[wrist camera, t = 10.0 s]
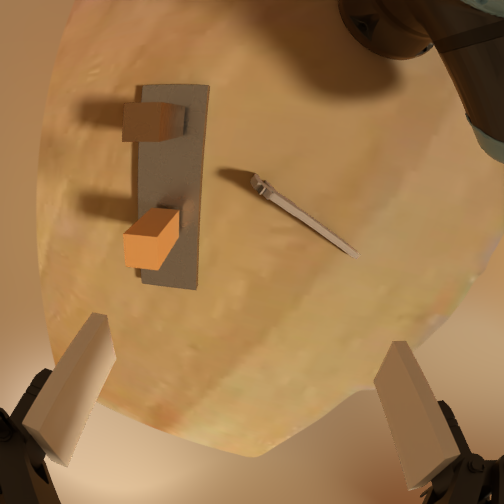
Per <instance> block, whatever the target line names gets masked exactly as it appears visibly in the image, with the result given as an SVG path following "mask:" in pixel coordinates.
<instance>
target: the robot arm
mask: <svg viewBox="0 0 504 504" xmlns="http://www.w3.org/2000/svg"><path fill="white" fill-rule="evenodd" d="M339 10H340V14H341V17H342V19H343V21H344V23H345V25H346V27H347V28H348V30H349V31H350V33H351V34H352V35H353V36H354V37H355V38H356V39H357V40H358V41H359V42H360V43H361V44H362V45H363V46H365V47H366V48H368V49H369V50H371V51H372V52H374V53H376V54H378V55H380V56H383V57H386V58H389V59H395V60H407V59H412V58H415V57H418V56H421V55H423V54H425V53H426V52H428V51H429V50H430V49H431V48H432V47H433V45H435V47H436V49H437V51H438V53H439V55H440V57H441V59H442V61H443V63H444V65H445V67H446V69H447V71H448V73H449V75H450V77H451V79H452V81H453V83H454V85H455V88H456V90H457V92H458V94H459V97H460V99H461V101H462V104H463V106H464V109H465V111H466V117H467V120H468V122H469V123H470V125H471V126H472V128H473V131H474V133H475V136H476V138H477V141H478V143H479V145H480V146H481V148H482V149H483V150H484V151H485V152H486V153H487V154H488V155H489V156H490V157H492V158H493V159H495V160H497V161H499V162H501V163H503V164H504V0H339ZM115 360H116V355H115V351H114V347H113V342H112V338H111V333H110V328H109V324H108V318H107V315H103V314H98V313H92V314H91V315H90V317H89V318H88V320H87V321H86V322H85V324H84V325H83V327H82V328H81V330H80V331H79V332H78V334H77V335H76V337H75V338H74V340H73V341H72V343H71V344H70V346H69V347H68V349H67V350H66V352H65V353H64V355H63V356H62V358H61V359H60V361H59V362H58V364H57V365H56V367H55V368H54V370H53V371H52V370H49V369H46V368H45V369H44V370H42V371H41V372H39V373H38V374H37V375H36V376H35V377H34V379H33V380H32V382H31V384H30V386H29V387H28V388H27V390H26V393H24V394H23V396H22V398H21V399H20V401H19V403H18V405H17V406H16V407H15V409H14V411H13V412H12V414H11V416H10V417H9V415H8V414H7V413H6V412H5V410H4V409H3V408H0V504H61V503H60V500H59V498H58V495H57V493H56V490H55V488H54V485H53V483H52V480H51V477H50V474H49V472H48V469H47V466H46V463H45V461H44V458H45V455H47V456H48V457H49V458H50V459H51V460H52V461H54V462H56V463H58V464H61V465H63V466H65V467H68V465H69V462H70V460H71V457H72V455H73V452H74V450H75V448H76V445H77V442H78V441H79V438H80V436H81V434H82V431H83V429H84V427H85V424H86V422H87V420H88V417H89V415H90V413H91V411H92V409H93V406H94V404H95V402H96V400H97V398H98V396H99V393H100V391H101V389H102V387H103V385H104V383H105V381H106V379H107V377H108V375H109V373H110V370H111V368H112V366H113V364H114V362H115ZM374 384H375V386H376V389H377V392H378V395H379V398H380V400H381V403H382V406H383V409H384V412H385V415H386V418H387V421H388V424H389V427H390V430H391V434H392V437H393V440H394V443H395V446H396V450H397V452H398V456H399V460H400V463H401V466H402V470H403V473H404V476H405V480H406V484H407V488H408V490H412V489H416V488H420V487H423V486H425V485H426V484H427V483H428V482H430V481H431V482H432V486H431V487H429V488H428V489H427V490H426V491H424V492H423V493H422V494H421V495H420V497H423V496H424V495H426V494H427V495H426V497H425V499H424V501H423V503H422V504H504V455H503V456H502V457H500V458H499V459H498V460H484V459H483V458H482V457H481V456H479V455H478V454H474V453H473V454H472V453H471V451H470V449H469V447H468V444H467V443H466V440H465V438H464V435H463V433H462V431H461V429H460V427H459V426H458V423H457V420H456V419H455V416H454V414H453V412H452V410H451V408H450V407H449V406H448V405H447V404H446V403H445V402H444V401H443V400H442V401H437V400H436V398H435V396H434V394H433V392H432V390H431V388H430V386H429V384H428V382H427V380H426V378H425V376H424V374H423V372H422V370H421V368H420V366H419V364H418V363H417V361H416V359H415V357H414V355H413V353H412V351H411V349H410V347H409V346H408V344H407V342H406V341H393V342H392V344H391V346H390V348H389V350H388V353H387V355H386V357H385V359H384V361H383V363H382V365H381V367H380V369H379V371H378V373H377V375H376V377H375V379H374ZM491 494H492V496H491V500H490V497H489V496H490V495H491Z"/></svg>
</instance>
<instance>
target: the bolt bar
mask: <svg viewBox="0 0 504 504" xmlns="http://www.w3.org/2000/svg"><path fill="white" fill-rule="evenodd" d="M209 91H210V86H209V85H143V89H142V100H141V102H139V103H124V113H123V131H122V142H139V152H138V220H139V219H140V218H141V217H142V216H143V215H144V214H145V213H146V212H147V211H149V210H150V209H151V208H162V209H175V210H179V238H178V239H177V241H176V242H175V244H174V246H173V247H172V249H171V250H170V252H169V254H168V255H167V257H166V259H165V260H164V262H163V263H162V265H161V267H160V268H159V270H150V269H142V268H141V278H142V283H143V284H151V285H158V286H166V287H174V288H182V289H191V290H196V289H197V286H198V259H199V231H200V209H201V191H202V174H203V160H204V146H205V134H206V122H207V112H208V101H209Z"/></svg>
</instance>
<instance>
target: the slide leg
mask: <svg viewBox="0 0 504 504" xmlns="http://www.w3.org/2000/svg"><path fill="white" fill-rule="evenodd" d="M123 237H124V251H125V263H126V267H134V268H142V269H150V270H159V268H160V267H161V265H162V263H163V262H164V260H165V259H166V257H167V255H168V254H169V252H170V250H171V249H172V247H173V246H174V244H175V242H176V241H177V239H178V238H179V210H175V209H162V208H151V209H150V210H149V211H147V212H146V213H145V214H144V215H143V216H142V217H141V218H140V219H139V220H138V221H137V222H135V223H134V224H133V225H132V226H131V227H130V228H129V229H128V230H127V231H126V232H125V233H124V234H123Z"/></svg>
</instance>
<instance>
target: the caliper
mask: <svg viewBox="0 0 504 504" xmlns="http://www.w3.org/2000/svg"><path fill="white" fill-rule="evenodd" d="M250 183H251V185H252V186H253V188H254V189H255V190H257V191H258V193H259V194H260V195H261V194H262V195H263V196H264V197H265V198H266V199H267V200H268V199H270V200H271V201H273V202H274V203H276V204H277V205H279V206H280V207H282V208H283V209H285V210H286V211H288V212H289V213H291V214H292V215H293V216H295V217H297V218H299V219H300V220H302V221H303V222H305V223H306V224H307V225H309V226H310V227H312V228H313V229H314V230H316V231H317V232H319V233H320V234H321V235H323V236H324V237H326V238H327V239H328V240H330V241H331V242H332V243H334V244H335V245H337V246H338V247H339V248H341V249H342V250H343V251H345V252H346V253H348V254H349V255H350V256H352V257H354V258H355V259H357V258H358V257H359V256H360V255H361V254H360V253H358V252H357V251H356V250H355V249H354V248H352V247H351V246H350V245H349V244H347V243H346V242H345V241H344V240H342V239H341V238H340V237H338V236H337V235H336V234H334V233H333V232H332V231H330V230H329V229H328V228H326V227H325V226H323V225H322V224H321V223H319V222H318V221H317V220H315V219H314V218H313V217H311V216H310V215H308V214H307V213H306V212H304V211H303V210H302V209H300V208H299V207H297V206H296V205H295V203H293V202H292V201H290V200H289V199H288V198H286V197H285V196H283V195H281V194H280V193H278V192H277V191H276V190H275V189H274V188H273V187H272V186H271V185H270V184H269V183H268V182H267V181H266V180H265V182H264V183H263V182H262V180H261V179H260V177H259V176H258V175H257V174H256V173H255V174H254V175H253V177H252V178H251V182H250Z"/></svg>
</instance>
